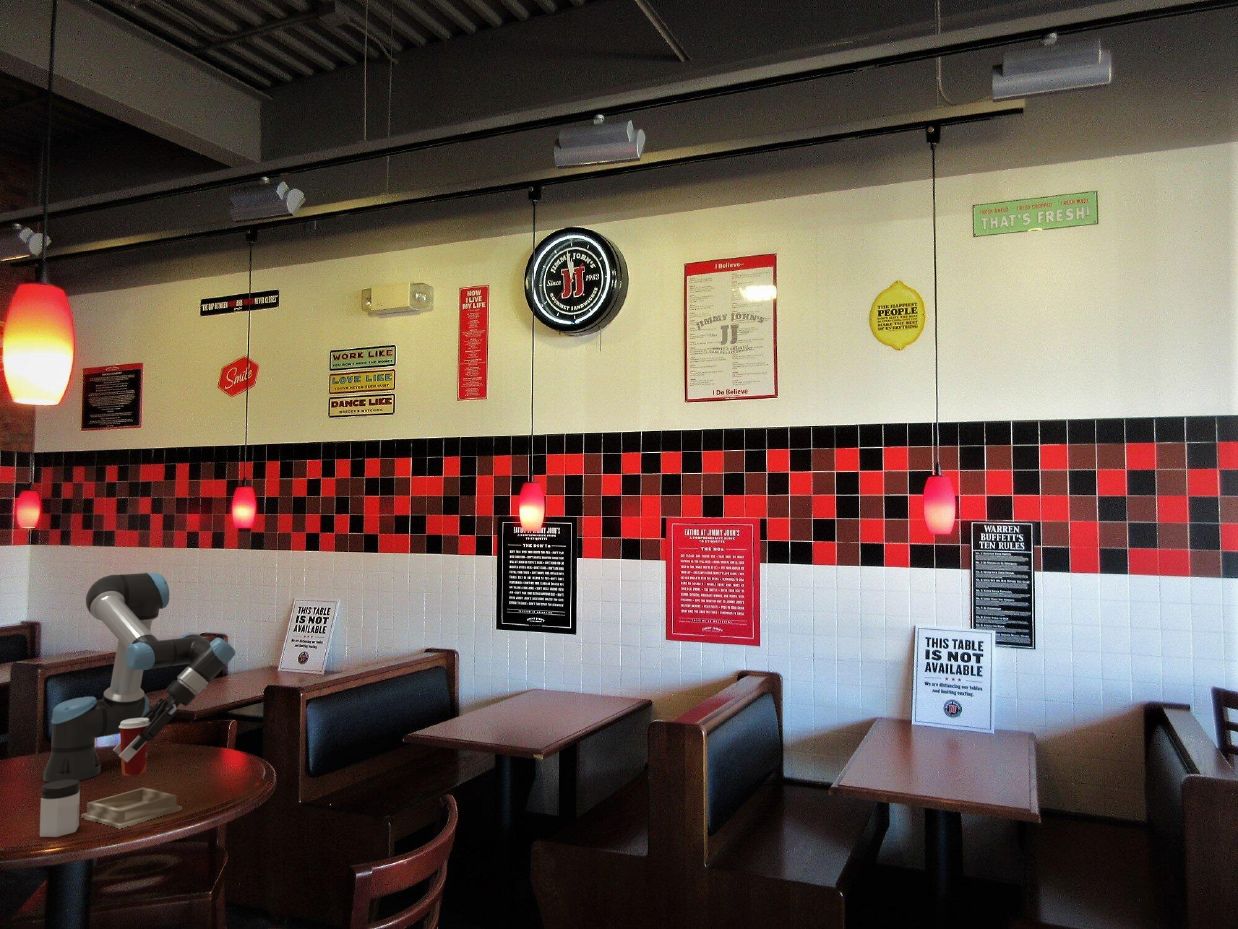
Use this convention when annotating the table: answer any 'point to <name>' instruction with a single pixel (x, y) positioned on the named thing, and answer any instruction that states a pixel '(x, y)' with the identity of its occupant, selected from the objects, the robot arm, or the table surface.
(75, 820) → the jar
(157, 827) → the table surface
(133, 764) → the paper cup
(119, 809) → the cup tray
